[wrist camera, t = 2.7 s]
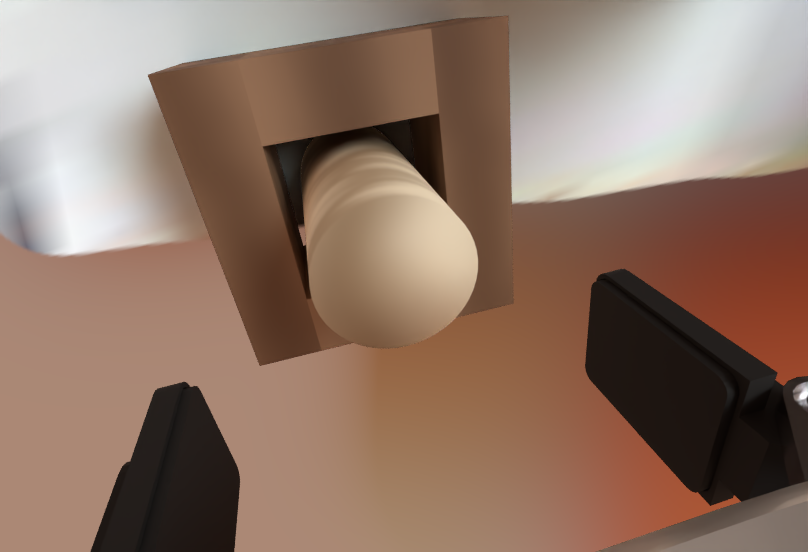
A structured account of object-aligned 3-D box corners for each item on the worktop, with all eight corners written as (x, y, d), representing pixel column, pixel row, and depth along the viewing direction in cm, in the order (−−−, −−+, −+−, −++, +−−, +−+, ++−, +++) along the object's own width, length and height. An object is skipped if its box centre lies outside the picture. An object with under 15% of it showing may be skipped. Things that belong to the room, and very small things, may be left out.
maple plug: (392, 113, 24) (473, 178, 13) (406, 210, 26) (481, 326, 16) (288, 132, 23) (288, 217, 13) (314, 229, 26) (330, 365, 15)
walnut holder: (457, 18, 22) (508, 15, 17) (473, 254, 29) (513, 303, 24) (183, 63, 21) (147, 74, 15) (265, 301, 27) (259, 365, 22)
